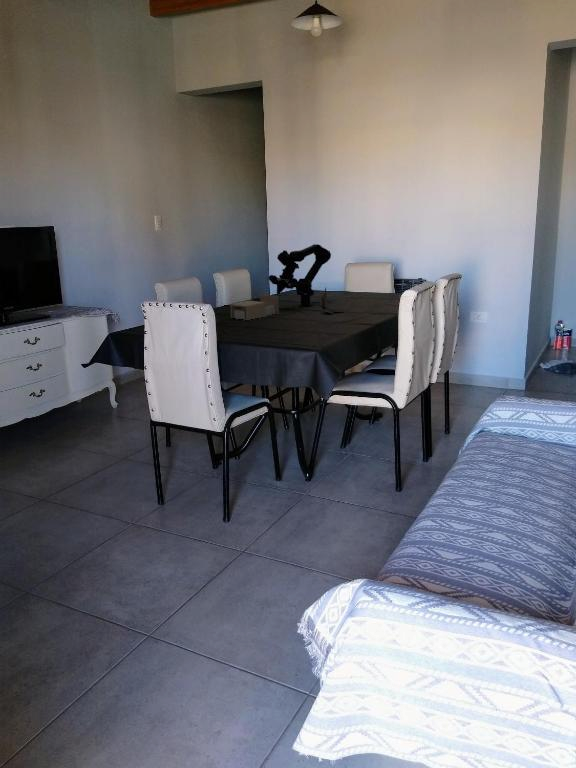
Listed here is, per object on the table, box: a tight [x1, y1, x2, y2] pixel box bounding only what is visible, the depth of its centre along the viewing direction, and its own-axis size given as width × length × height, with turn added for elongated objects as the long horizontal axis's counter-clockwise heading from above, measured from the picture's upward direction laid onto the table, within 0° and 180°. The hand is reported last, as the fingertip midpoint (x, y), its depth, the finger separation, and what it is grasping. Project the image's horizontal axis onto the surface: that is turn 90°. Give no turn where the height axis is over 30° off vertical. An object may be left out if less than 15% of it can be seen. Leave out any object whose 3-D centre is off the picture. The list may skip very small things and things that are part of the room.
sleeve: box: [229, 300, 267, 321], centre depth 337 cm, size 14×13×8 cm
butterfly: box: [317, 287, 343, 315], centre depth 344 cm, size 17×10×10 cm
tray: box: [233, 294, 280, 321], centre depth 341 cm, size 24×13×10 cm, turn 137°
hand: (277, 293), depth 352 cm, fingers closed
